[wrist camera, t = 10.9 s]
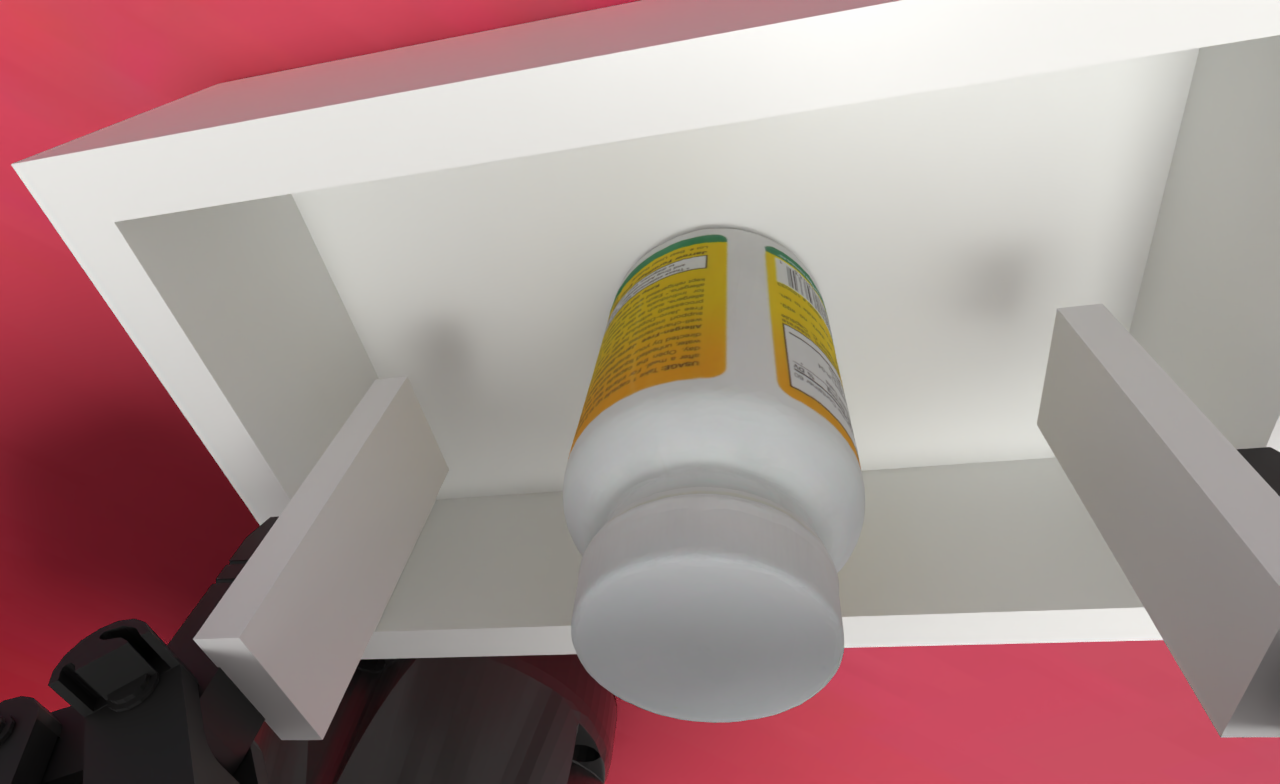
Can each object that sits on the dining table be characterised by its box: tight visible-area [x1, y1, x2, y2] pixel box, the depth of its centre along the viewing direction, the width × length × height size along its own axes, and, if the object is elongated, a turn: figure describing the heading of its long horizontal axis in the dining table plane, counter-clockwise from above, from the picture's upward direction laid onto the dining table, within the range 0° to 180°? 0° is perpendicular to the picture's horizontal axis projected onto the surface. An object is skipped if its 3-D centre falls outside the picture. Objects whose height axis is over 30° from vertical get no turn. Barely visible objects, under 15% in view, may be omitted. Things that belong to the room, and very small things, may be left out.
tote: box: [11, 0, 1280, 659], centre depth 16 cm, size 22×14×6 cm, turn 100°
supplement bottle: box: [563, 228, 865, 723], centre depth 14 cm, size 5×5×10 cm
